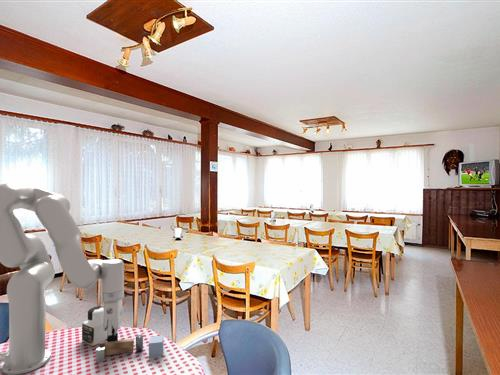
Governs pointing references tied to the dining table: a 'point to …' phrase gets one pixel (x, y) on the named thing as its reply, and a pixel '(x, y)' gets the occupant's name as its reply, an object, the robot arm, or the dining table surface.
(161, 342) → the block
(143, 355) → the dining table surface
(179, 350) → the dining table surface
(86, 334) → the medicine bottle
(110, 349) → the tan wooden plank
